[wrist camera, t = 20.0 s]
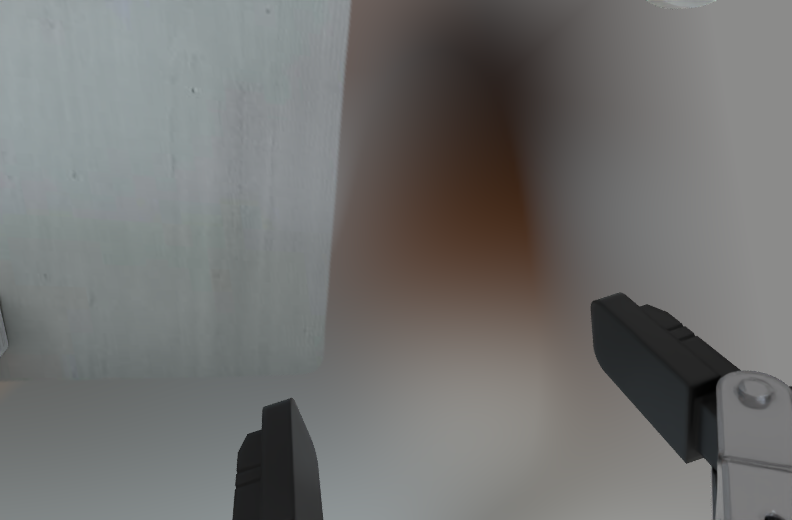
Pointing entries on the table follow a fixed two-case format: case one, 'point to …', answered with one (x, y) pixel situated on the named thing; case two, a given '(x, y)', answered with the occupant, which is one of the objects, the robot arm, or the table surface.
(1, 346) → the cosmetic box
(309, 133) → the table surface
